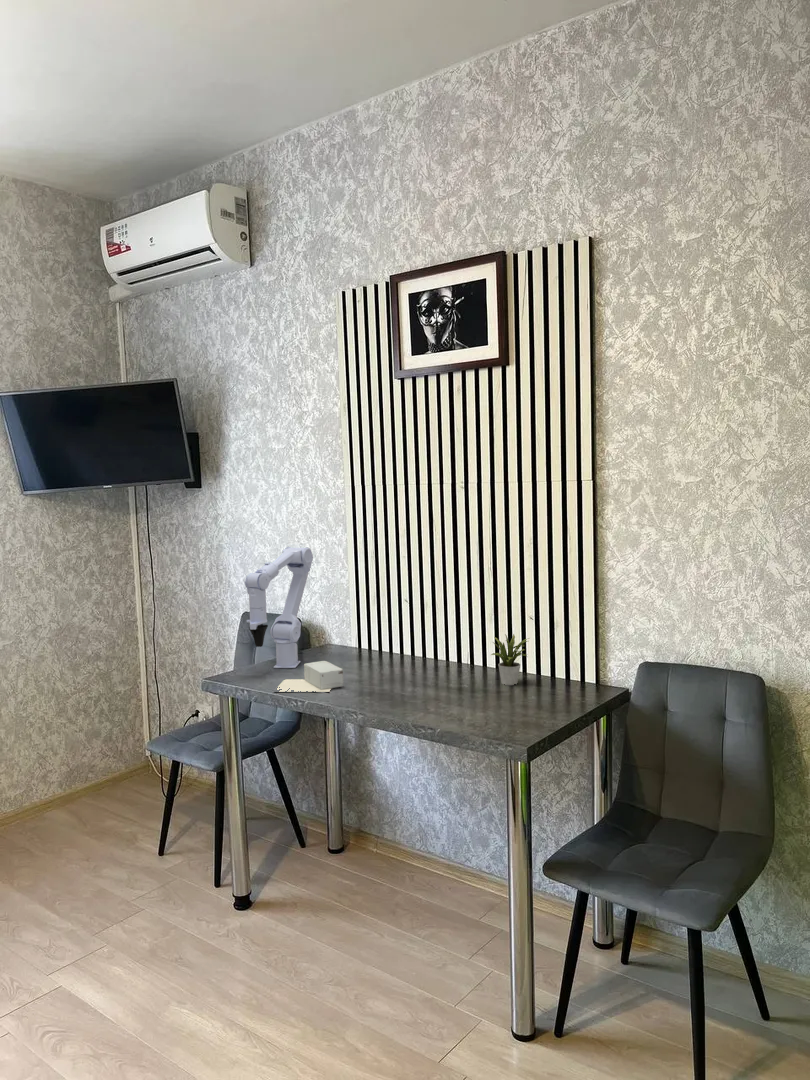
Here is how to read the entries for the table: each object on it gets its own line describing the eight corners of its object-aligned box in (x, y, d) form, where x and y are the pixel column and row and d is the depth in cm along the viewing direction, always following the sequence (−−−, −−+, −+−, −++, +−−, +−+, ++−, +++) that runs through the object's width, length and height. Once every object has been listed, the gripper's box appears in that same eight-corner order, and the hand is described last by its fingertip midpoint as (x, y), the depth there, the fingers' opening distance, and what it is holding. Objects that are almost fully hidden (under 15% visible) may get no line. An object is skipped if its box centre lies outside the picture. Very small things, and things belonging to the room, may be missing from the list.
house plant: (537, 689, 250) (536, 638, 249) (493, 690, 250) (492, 639, 249) (529, 677, 265) (529, 629, 263) (488, 679, 265) (487, 630, 263)
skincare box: (304, 680, 267) (319, 691, 254) (303, 662, 267) (318, 672, 253) (327, 676, 271) (343, 687, 258) (327, 659, 270) (343, 669, 257)
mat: (284, 680, 269) (284, 679, 269) (337, 680, 267) (337, 679, 267) (273, 693, 254) (273, 691, 254) (329, 693, 252) (329, 691, 252)
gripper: (252, 604, 282) (253, 642, 283) (240, 611, 267) (242, 650, 269) (271, 604, 281) (273, 641, 282) (261, 610, 267) (262, 650, 268)
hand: (259, 646), depth 275 cm, fingers closed
